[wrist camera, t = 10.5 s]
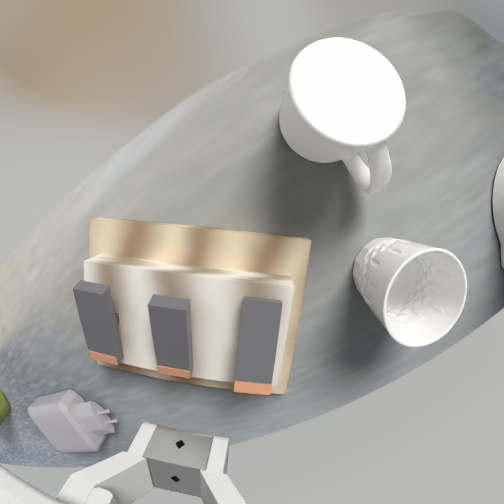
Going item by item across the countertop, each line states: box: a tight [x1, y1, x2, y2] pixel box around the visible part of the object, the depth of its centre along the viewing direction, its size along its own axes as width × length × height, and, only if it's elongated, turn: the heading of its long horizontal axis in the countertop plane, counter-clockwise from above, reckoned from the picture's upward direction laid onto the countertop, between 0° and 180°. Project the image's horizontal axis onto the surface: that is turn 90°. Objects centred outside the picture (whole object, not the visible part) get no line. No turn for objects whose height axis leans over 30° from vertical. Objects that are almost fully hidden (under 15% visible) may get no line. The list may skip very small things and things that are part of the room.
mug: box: [279, 38, 406, 194], centre depth 22 cm, size 8×10×12 cm
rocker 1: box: [73, 281, 123, 365], centre depth 24 cm, size 3×8×2 cm, turn 174°
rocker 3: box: [234, 296, 283, 396], centre depth 24 cm, size 3×8×2 cm, turn 174°
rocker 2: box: [148, 294, 193, 379], centre depth 24 cm, size 3×8×2 cm, turn 174°
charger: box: [28, 389, 118, 453], centre depth 32 cm, size 5×9×15 cm
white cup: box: [353, 237, 467, 347], centre depth 25 cm, size 8×8×10 cm
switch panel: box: [84, 217, 311, 394], centre depth 28 cm, size 22×17×6 cm
